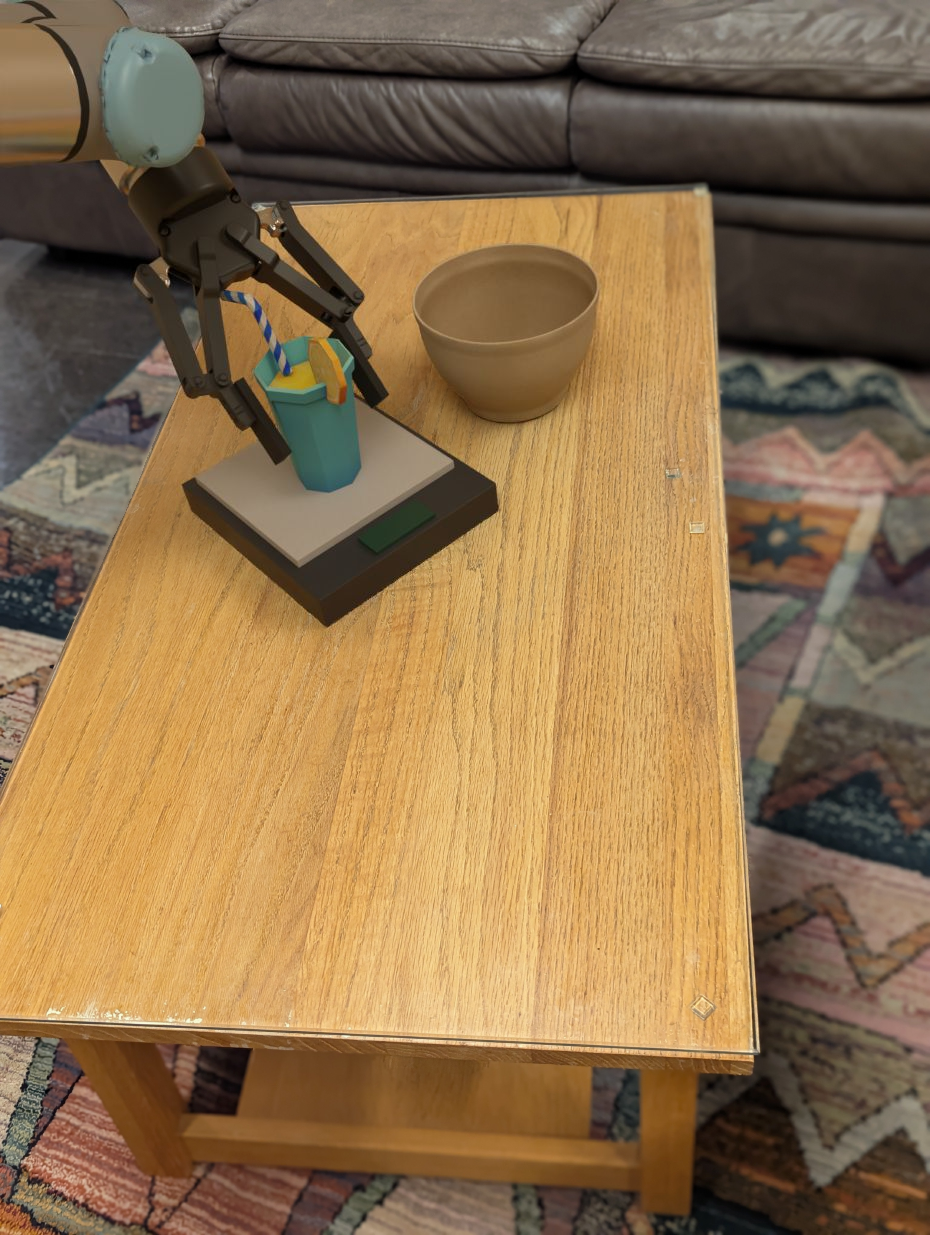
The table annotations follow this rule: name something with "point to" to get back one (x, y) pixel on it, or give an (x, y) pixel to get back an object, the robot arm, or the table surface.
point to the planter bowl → (508, 325)
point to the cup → (310, 402)
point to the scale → (344, 514)
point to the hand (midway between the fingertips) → (332, 429)
